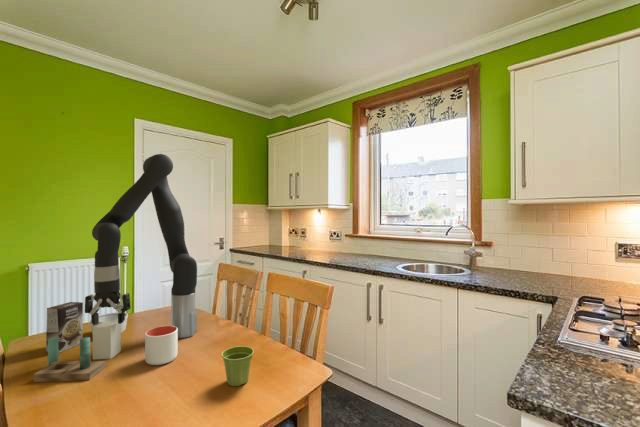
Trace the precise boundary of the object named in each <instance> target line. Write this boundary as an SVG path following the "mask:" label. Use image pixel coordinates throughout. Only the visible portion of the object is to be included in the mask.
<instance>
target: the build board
mask: <svg viewBox="0 0 640 427" xmlns="http://www.w3.org/2000/svg"><path fill="white" fill-rule="evenodd" d="M78 363H80V360H58V361H55V362H53V363H51V364H50V365H48V364H47V366H45V367H43V368H42V369H40V370H37V371H36V372H34V373H33V382H34V383H38V382H39V383H41V382H42V383H44V382H63V381H62V374H63V373H65V372H66V371H68V370H69V369H71V368H72V367H74V366H75V365H77V364H78Z"/></svg>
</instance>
